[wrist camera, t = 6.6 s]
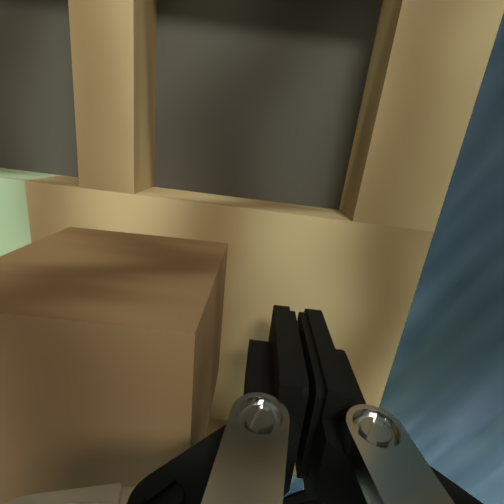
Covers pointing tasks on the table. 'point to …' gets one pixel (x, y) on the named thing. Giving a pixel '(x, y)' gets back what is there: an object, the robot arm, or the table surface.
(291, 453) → the robot arm
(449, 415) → the table surface
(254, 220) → the tray
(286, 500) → the aerosol can
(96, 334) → the block
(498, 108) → the table surface
